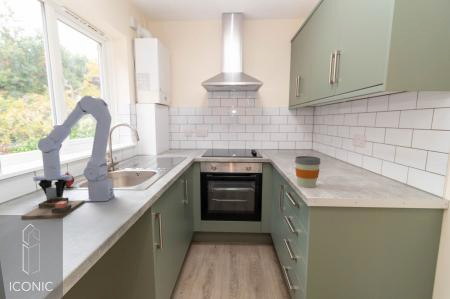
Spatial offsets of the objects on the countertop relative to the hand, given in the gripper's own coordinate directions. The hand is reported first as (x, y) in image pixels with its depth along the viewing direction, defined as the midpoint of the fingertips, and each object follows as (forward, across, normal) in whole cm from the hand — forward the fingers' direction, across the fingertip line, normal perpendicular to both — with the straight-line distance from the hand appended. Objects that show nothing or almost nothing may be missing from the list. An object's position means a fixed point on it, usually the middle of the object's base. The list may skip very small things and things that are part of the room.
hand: (54, 196), depth 98 cm
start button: (-1, -12, +16) cm, 20 cm away
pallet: (+1, -8, +12) cm, 14 cm away
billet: (+1, 0, 0) cm, 1 cm away
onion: (+2, +6, -20) cm, 21 cm away
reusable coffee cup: (+2, -119, -13) cm, 120 cm away
